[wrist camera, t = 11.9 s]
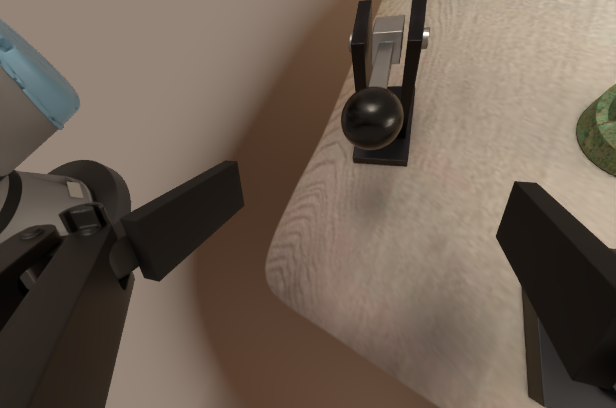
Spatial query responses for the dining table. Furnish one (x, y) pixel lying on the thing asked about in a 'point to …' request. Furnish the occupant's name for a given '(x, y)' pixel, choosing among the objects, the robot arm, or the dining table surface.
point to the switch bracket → (362, 71)
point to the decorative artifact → (600, 131)
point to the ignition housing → (556, 372)
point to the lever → (377, 92)
